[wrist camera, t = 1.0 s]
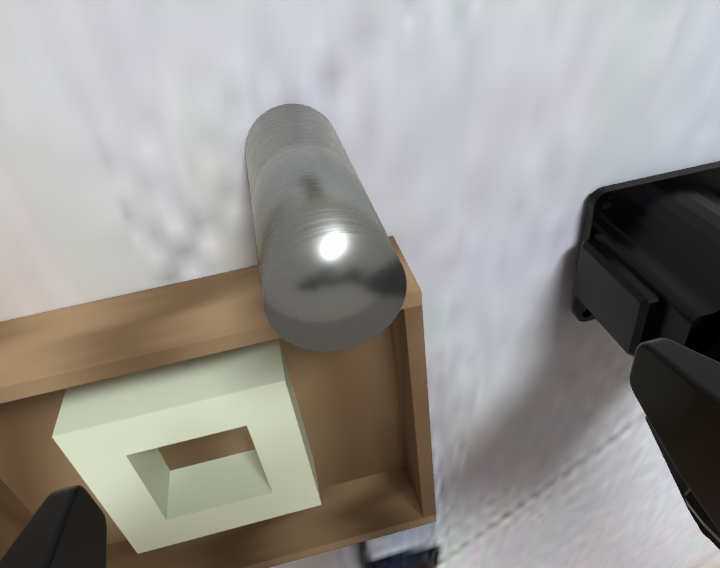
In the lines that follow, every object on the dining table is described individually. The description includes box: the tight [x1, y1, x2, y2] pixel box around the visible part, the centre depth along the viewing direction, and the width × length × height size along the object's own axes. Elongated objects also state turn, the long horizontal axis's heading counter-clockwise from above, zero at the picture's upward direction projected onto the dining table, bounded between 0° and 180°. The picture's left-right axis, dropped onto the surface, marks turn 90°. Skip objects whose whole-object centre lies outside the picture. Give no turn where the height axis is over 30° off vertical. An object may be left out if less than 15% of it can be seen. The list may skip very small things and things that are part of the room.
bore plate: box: [52, 338, 321, 554], centre depth 22 cm, size 8×8×2 cm
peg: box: [245, 104, 407, 352], centre depth 14 cm, size 3×3×8 cm
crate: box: [0, 236, 436, 568], centre depth 22 cm, size 18×14×4 cm
